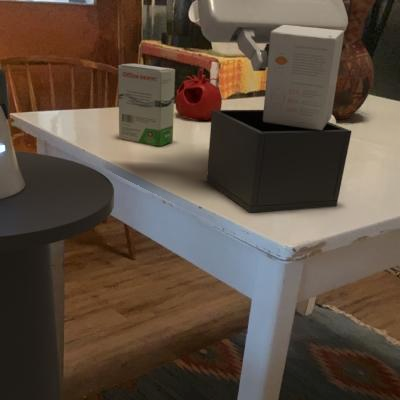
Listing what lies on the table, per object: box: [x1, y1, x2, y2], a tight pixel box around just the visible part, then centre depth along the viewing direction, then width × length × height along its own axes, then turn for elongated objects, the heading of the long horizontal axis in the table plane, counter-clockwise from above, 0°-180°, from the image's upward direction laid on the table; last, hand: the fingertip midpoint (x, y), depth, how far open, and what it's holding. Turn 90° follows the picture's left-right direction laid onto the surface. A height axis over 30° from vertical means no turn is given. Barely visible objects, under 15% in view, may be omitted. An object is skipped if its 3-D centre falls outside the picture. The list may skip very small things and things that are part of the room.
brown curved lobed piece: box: [332, 0, 377, 120], centre depth 134 cm, size 22×21×25 cm
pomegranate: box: [174, 68, 223, 121], centre depth 124 cm, size 10×10×9 cm
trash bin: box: [205, 109, 353, 214], centre depth 83 cm, size 14×14×10 cm
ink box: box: [118, 63, 176, 147], centre depth 104 cm, size 9×5×12 cm, turn 62°
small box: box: [263, 25, 344, 130], centre depth 76 cm, size 8×6×10 cm
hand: (289, 68), depth 77 cm, fingers closed on small box, 6 cm apart
